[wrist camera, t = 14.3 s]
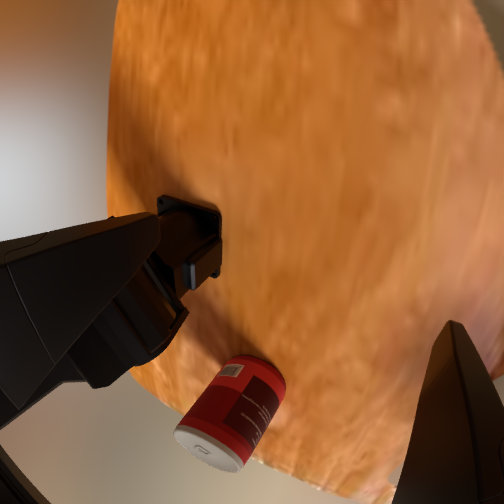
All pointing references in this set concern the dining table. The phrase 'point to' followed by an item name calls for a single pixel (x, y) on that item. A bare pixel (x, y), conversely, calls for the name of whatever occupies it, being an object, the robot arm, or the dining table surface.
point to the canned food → (232, 413)
